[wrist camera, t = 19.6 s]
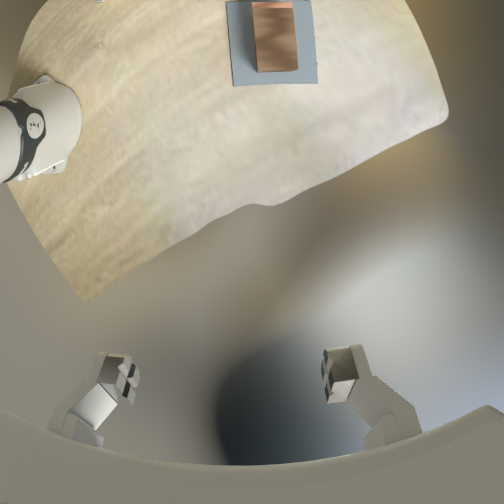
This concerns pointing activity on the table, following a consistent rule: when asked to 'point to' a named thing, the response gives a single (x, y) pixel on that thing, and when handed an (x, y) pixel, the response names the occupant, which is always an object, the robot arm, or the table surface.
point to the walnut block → (274, 37)
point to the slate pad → (245, 47)
